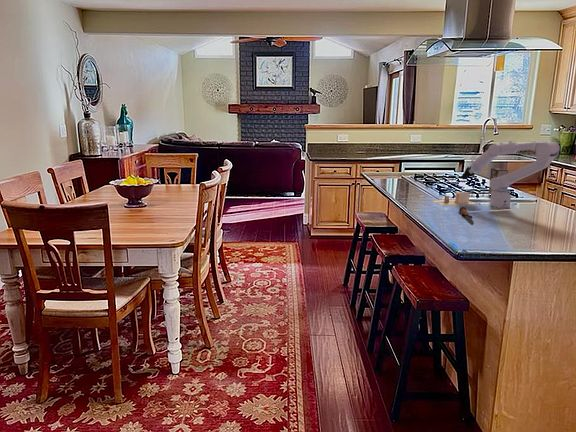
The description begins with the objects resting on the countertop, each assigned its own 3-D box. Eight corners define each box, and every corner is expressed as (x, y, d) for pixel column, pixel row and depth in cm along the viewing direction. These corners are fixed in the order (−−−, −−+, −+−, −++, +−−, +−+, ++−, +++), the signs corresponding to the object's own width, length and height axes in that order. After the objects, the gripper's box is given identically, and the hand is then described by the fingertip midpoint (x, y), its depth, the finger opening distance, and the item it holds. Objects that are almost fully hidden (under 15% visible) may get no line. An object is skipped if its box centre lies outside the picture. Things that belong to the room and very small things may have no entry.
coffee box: (487, 195, 265) (490, 168, 262) (498, 195, 265) (501, 168, 261) (494, 198, 256) (497, 170, 253) (505, 198, 256) (508, 170, 253)
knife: (480, 224, 195) (468, 221, 196) (478, 230, 196) (466, 227, 197) (468, 208, 219) (458, 205, 220) (466, 213, 220) (456, 211, 221)
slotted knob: (464, 200, 244) (464, 191, 243) (468, 202, 240) (469, 193, 239) (454, 201, 243) (455, 192, 242) (459, 202, 239) (460, 193, 238)
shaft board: (478, 206, 235) (479, 197, 234) (443, 207, 231) (444, 199, 230) (461, 200, 250) (462, 192, 249) (428, 201, 246) (429, 193, 245)
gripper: (482, 150, 241) (464, 165, 251) (473, 159, 232) (454, 175, 242) (492, 159, 240) (473, 174, 250) (482, 169, 230) (464, 184, 241)
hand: (465, 175), depth 246 cm, fingers open, 7 cm apart
